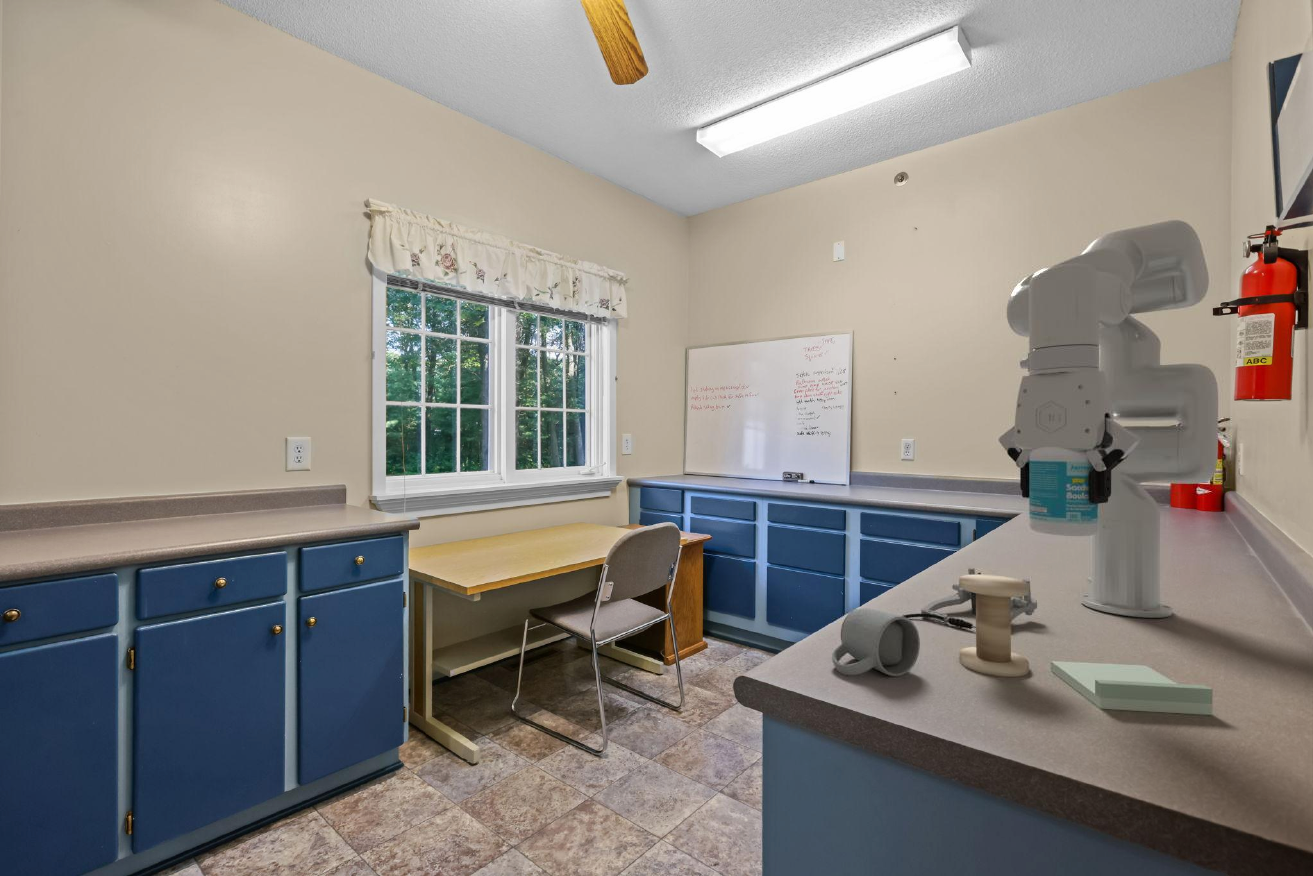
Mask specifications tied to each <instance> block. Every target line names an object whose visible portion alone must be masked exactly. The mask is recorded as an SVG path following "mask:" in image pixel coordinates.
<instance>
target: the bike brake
mask: <svg viewBox="0 0 1313 876" xmlns="http://www.w3.org/2000/svg"><path fill="white" fill-rule="evenodd" d="M967 569H968V570H967V571H968V575H973V574H976V570H975V567H968V568H967ZM977 574H982V573H981V572H978V573H977ZM1022 581H1024V582H1026V583H1028V584H1029V594H1028V595H1025V596H1020V597H1011V622H1012V621H1013V620H1015V619H1016V618H1017V617H1019V616H1020V615H1021V614H1024V615H1026V616H1032V615H1033V614H1034V613H1035V610H1036V609H1038V601H1037V599H1035V598H1032V594H1031V593H1032V592H1031V581H1030V579H1028V578H1024V579H1022ZM951 589H952V590H954V591H957V593H955V594H952V595H949V596H945V597H943V598H940V599H936V600H934V601H932V602H930V603H928V604H926V605H925V606H924V607H923V608H921V609H920V612H921V613H910V614H903V615H902V616H903V617H906V618H908V619H911V618H924V619H928V620H931V621H934V622H937V623H940V624H944V625H945V624H949V625H950V626H954V627H956V628H960V629H963V628H964V629H969V630H972V629H973V628H974V629H976V625H974V624H973V623H972V622H969V621H966V620H964V619H960V618H955V617H949V618H948V614H944V613H942V612H938V611H937V610H940V609H943V608H946V607H953V606H958V605H962V604H964V603H966V602H968V601H971V603H970V605H971V612H972V615H976V593H973V592H969V591H966V590H964V589H962V588H960V587H959V583H958V584H957V583H953V584H952V586H951Z"/></svg>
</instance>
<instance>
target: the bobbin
mask: <svg viewBox="0 0 1313 876" xmlns="http://www.w3.org/2000/svg"><path fill="white" fill-rule="evenodd" d="M958 585H959V587H960V588H962V589H964V590H966V591H969V592H973V593H976V614H975V626H976V628H975V646H969V647H964V648H962V649H960V650H959V653H958V654H959V655H958V656H959V657H958V658H959V662H960V664H961V665H962V666H964V667H965V668H967V669H969V670H972V671H974V672H978V673H981V674H984V675H989V676H995V677H1003V678H1016V677H1022V676H1026V675H1028V674H1029V673H1030V661H1029V660H1028V659H1027V658H1025V657H1024V656H1022V655H1020V654H1018V653H1015V652H1013V651H1012V621H1011V597H1020V596H1023V597H1024V596H1025V595H1028V594H1029V584H1028V583H1026V582H1024V581H1023V580H1021V579H1019V578H1018V579H1017V578H1013V577H1010V576H1009V577H1008V576H1004V575H1003V576H1002V575H993V574H982V573H981V574H978V573H975V574H973V575H969V574H965V575H962V576H959V578H958Z"/></svg>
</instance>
